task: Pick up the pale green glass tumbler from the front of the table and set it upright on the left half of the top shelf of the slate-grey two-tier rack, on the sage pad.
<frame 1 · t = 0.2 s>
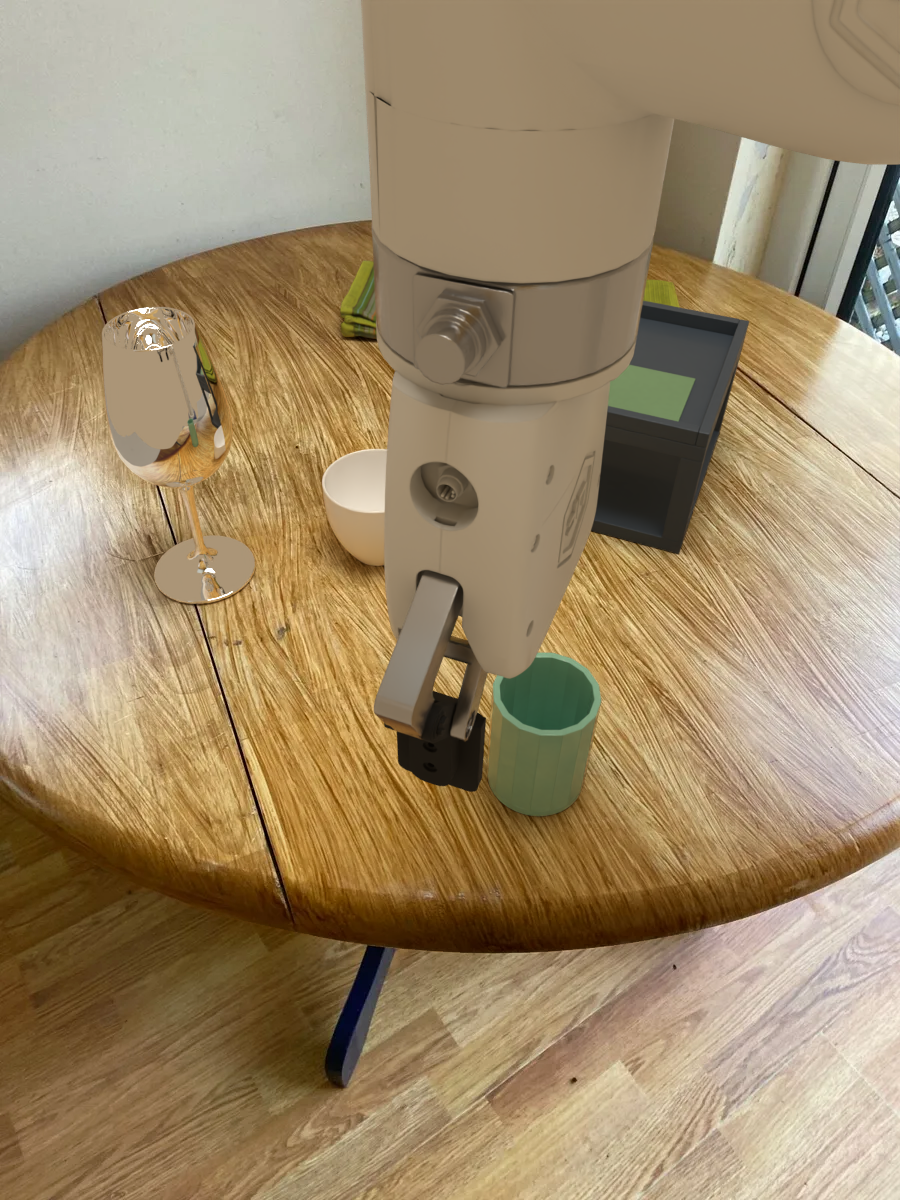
hand: (484, 683, 37), 18 cm above the table, tool pointing down, fingers open, 9 cm apart
dish towel: (512, 316, 99), on the table
tumbler: (535, 774, 56), on the table
cup: (393, 549, 71), on the table
rack: (620, 470, 79), on the table
wineglass: (206, 572, 69), on the table
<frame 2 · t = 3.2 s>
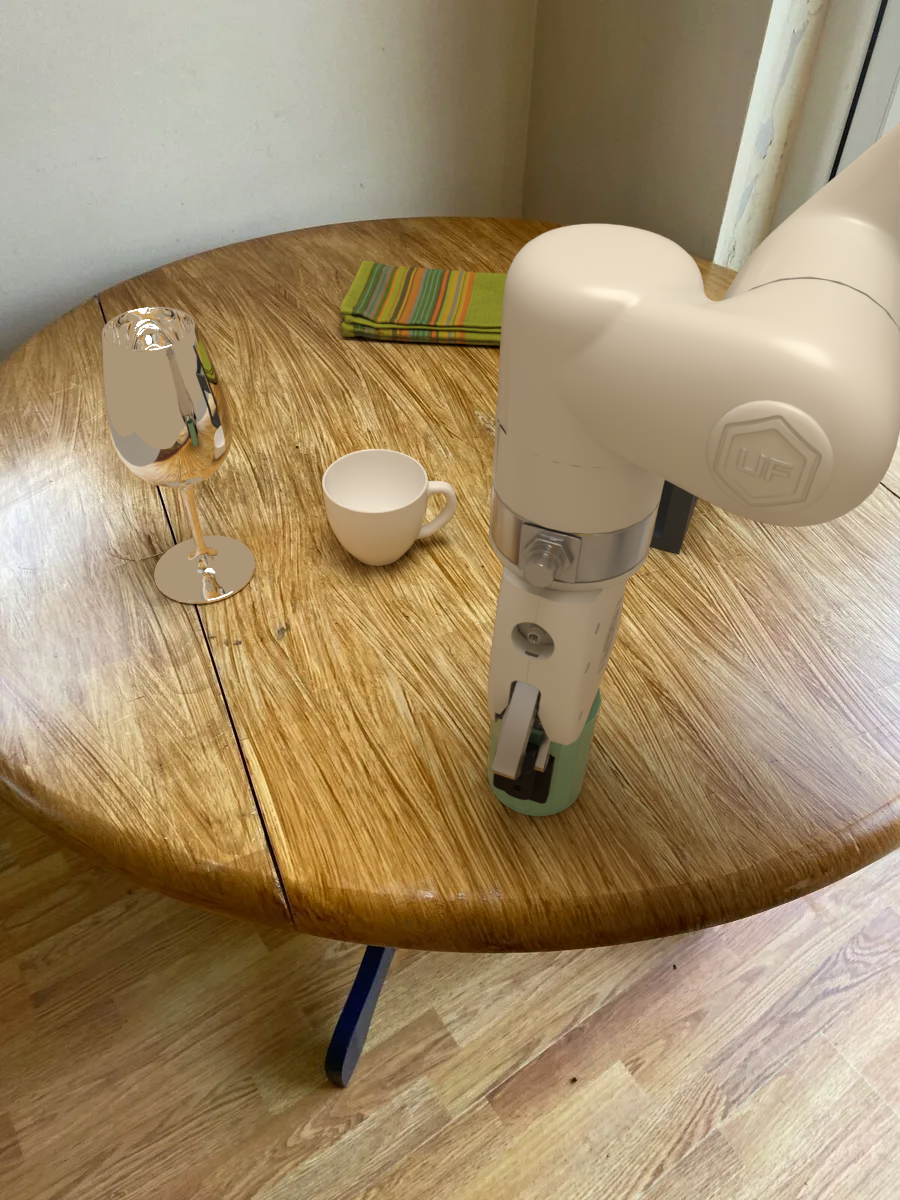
hand: (539, 745, 54), 3 cm above the table, tool pointing down, fingers closed on tumbler, 6 cm apart
tumbler: (535, 774, 56), on the table, touching gripper
everything else where it was.
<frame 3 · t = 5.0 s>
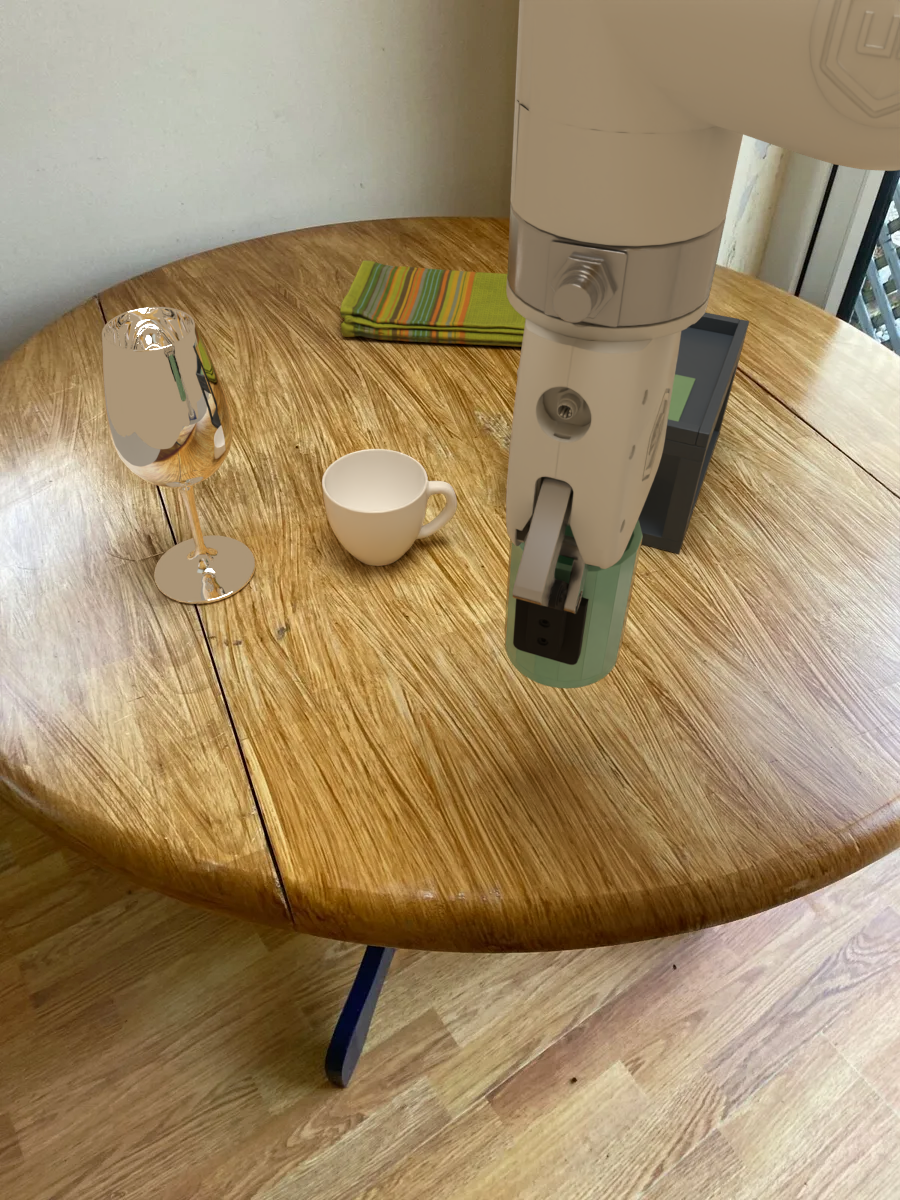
hand: (567, 604, 45), 15 cm above the table, tool pointing down, fingers closed on tumbler, 6 cm apart
tumbler: (561, 645, 48), point 12 cm above the table, touching gripper
everything else where it was.
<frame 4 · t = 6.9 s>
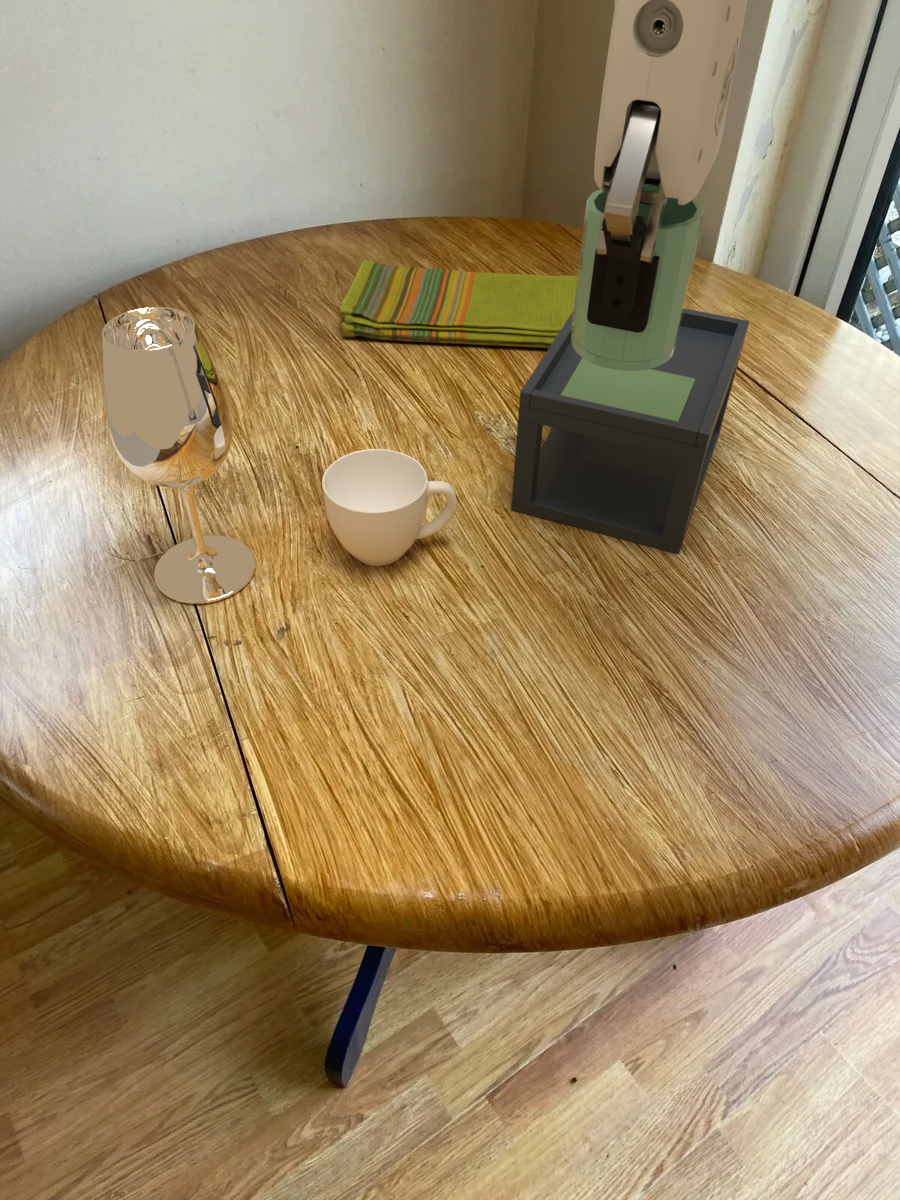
hand: (631, 295, 51), 24 cm above the table, tool pointing down, fingers closed on tumbler, 6 cm apart
tumbler: (622, 344, 53), point 21 cm above the table, touching gripper
everything else where it was.
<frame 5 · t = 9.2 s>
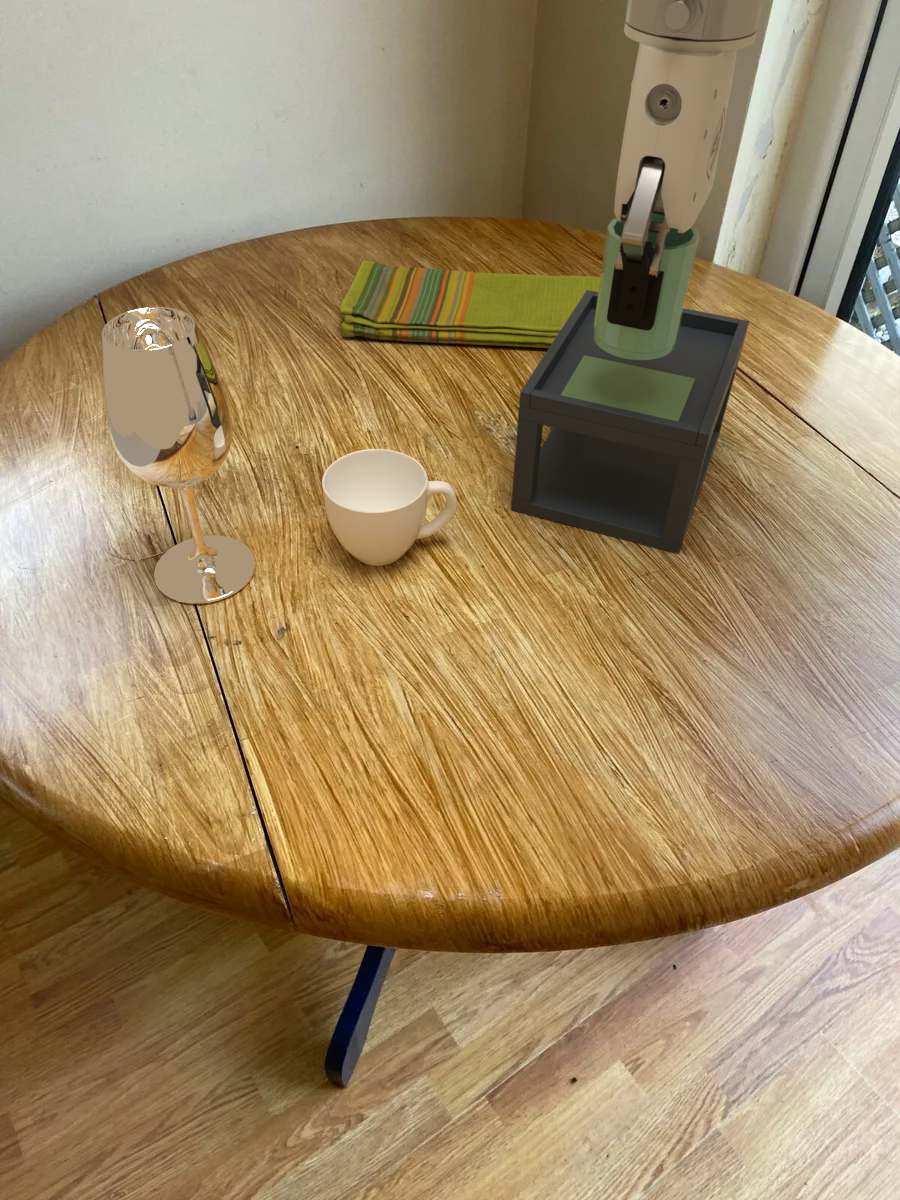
hand: (641, 301, 64), 17 cm above the table, tool pointing down, fingers closed on tumbler, 6 cm apart
tumbler: (634, 339, 66), point 14 cm above the table, touching gripper
everything else where it was.
when the fingers open (13 cm above the table, at t = 10.8 s): tumbler stays where it is, resting on rack.
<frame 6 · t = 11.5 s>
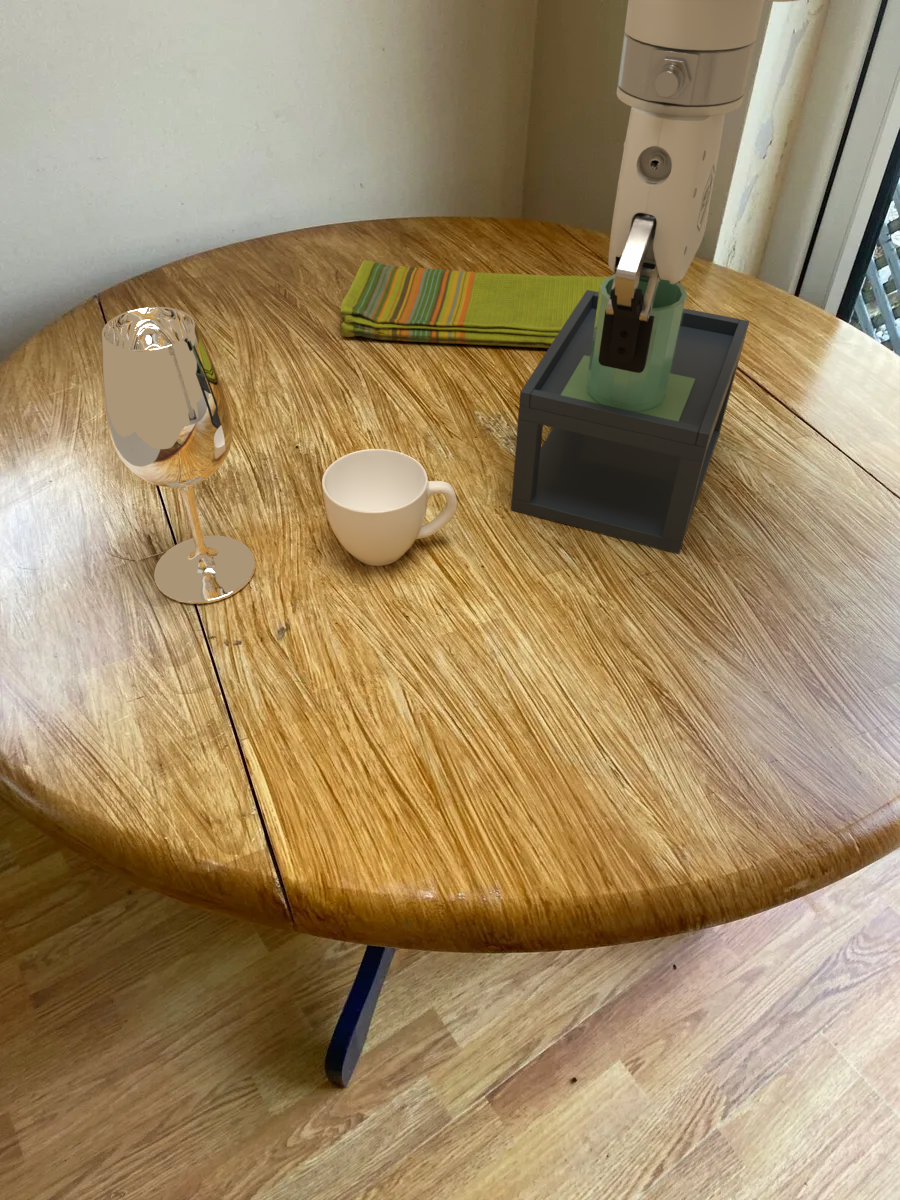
hand: (637, 335, 66), 15 cm above the table, tool pointing down, fingers open, 9 cm apart
tumbler: (626, 390, 69), point 10 cm above the table, touching rack
everything else where it was.
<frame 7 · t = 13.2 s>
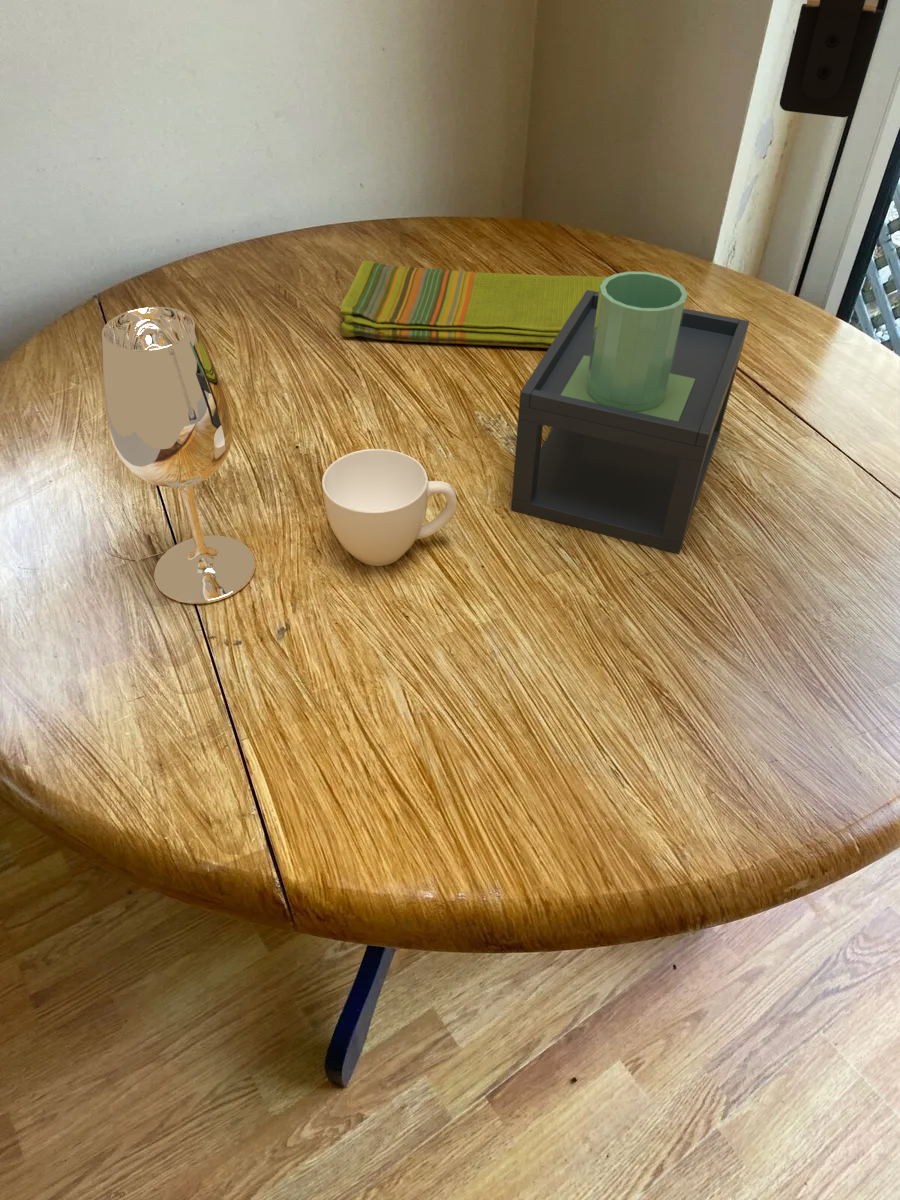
hand: (826, 84, 44), 34 cm above the table, tool pointing down, fingers open, 9 cm apart
nothing on the table moved.
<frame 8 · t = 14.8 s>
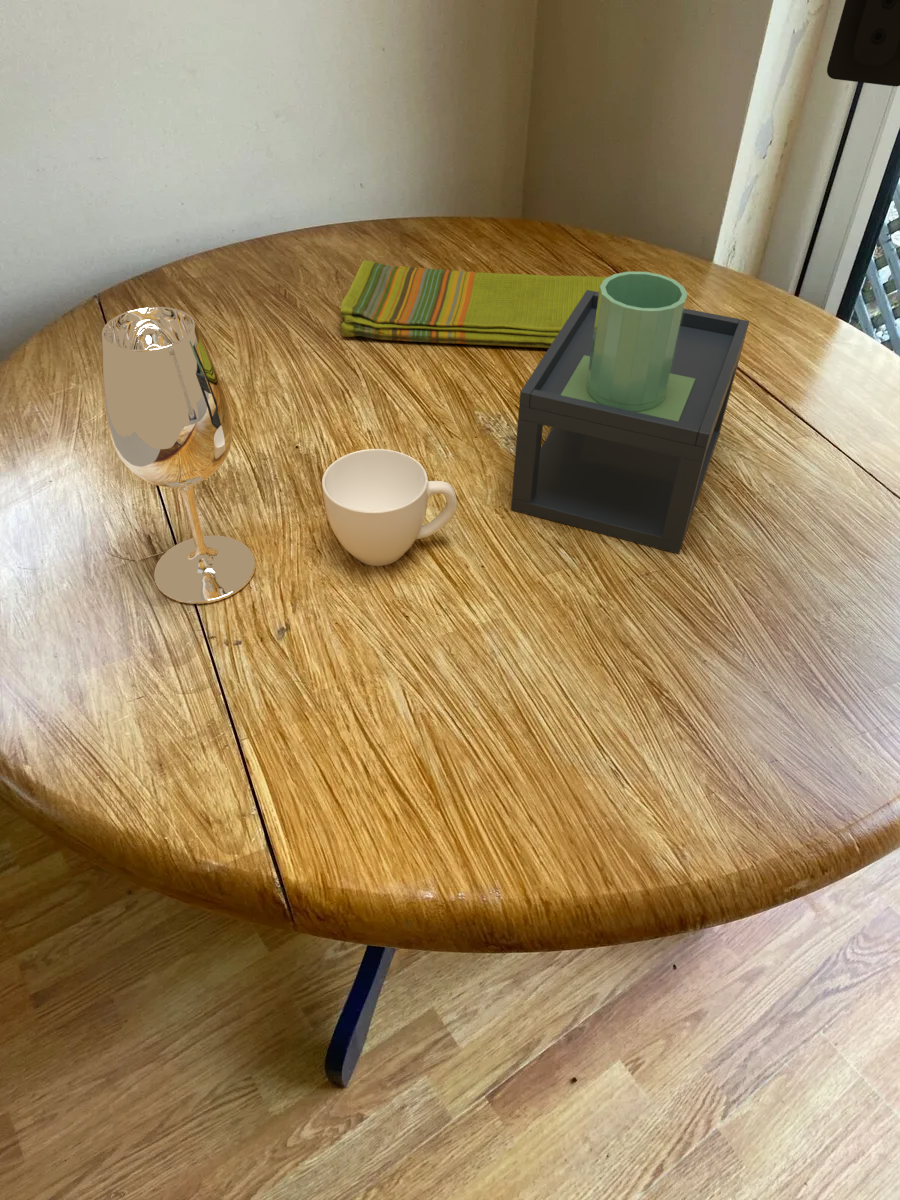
hand: (872, 52, 41), 36 cm above the table, tool pointing down, fingers open, 9 cm apart
nothing on the table moved.
at the end: tumbler inside the target area on the rack (0.3 cm from its centre), point 10.2 cm above the rack's base; tumbler tilted 0°; the gripper is holding nothing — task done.
